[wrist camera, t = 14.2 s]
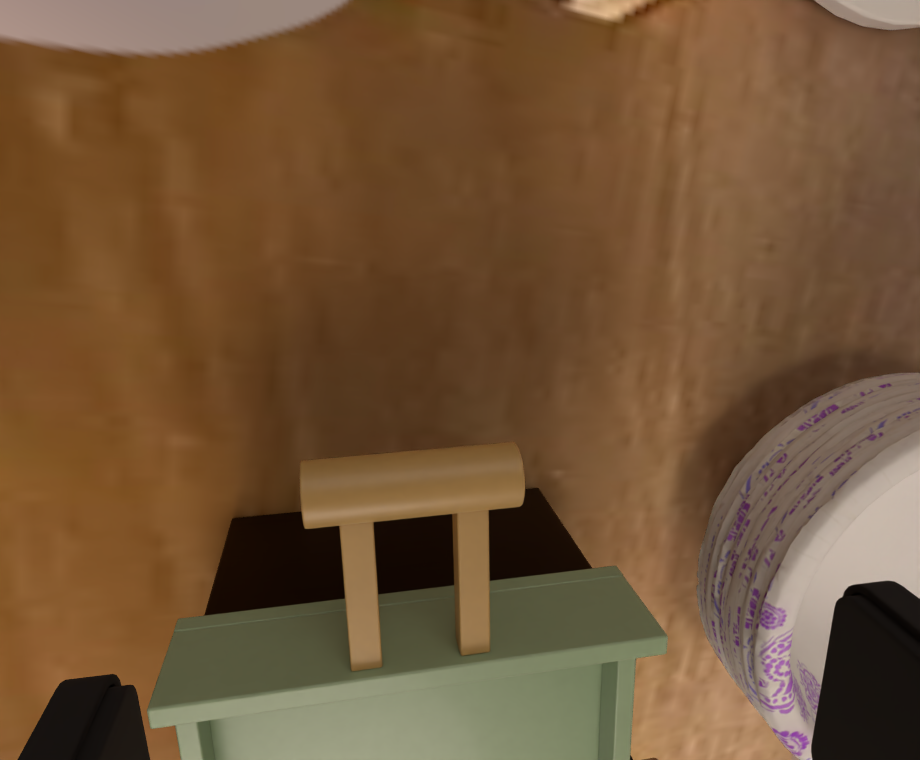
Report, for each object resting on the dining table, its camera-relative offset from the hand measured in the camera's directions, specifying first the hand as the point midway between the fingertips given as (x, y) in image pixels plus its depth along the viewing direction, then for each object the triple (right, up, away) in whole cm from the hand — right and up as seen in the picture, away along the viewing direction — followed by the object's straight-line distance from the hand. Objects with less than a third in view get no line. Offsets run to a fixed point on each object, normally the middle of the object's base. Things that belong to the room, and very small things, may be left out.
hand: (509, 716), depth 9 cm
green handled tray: (-2, -3, +12) cm, 13 cm away
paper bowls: (+15, -2, +22) cm, 27 cm away
